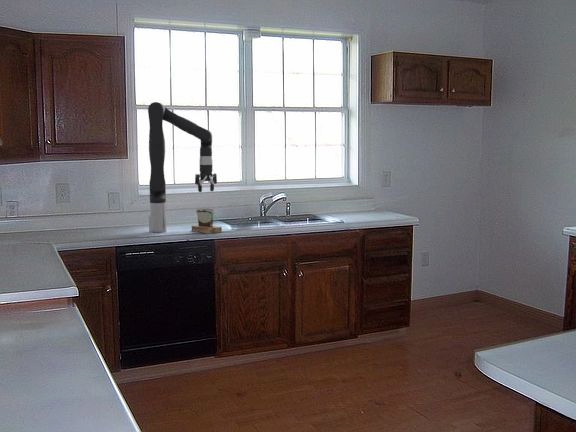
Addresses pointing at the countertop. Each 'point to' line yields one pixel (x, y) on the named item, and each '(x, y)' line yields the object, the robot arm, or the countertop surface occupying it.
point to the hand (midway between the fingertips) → (206, 191)
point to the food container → (205, 217)
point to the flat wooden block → (207, 229)
